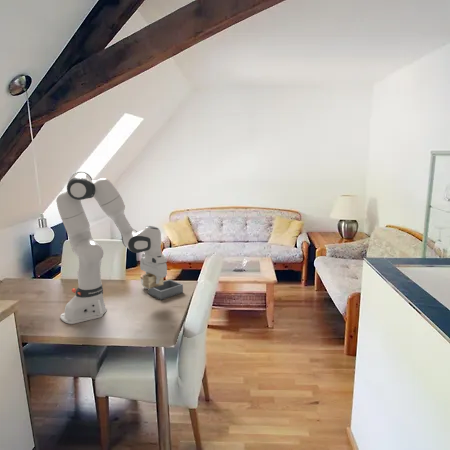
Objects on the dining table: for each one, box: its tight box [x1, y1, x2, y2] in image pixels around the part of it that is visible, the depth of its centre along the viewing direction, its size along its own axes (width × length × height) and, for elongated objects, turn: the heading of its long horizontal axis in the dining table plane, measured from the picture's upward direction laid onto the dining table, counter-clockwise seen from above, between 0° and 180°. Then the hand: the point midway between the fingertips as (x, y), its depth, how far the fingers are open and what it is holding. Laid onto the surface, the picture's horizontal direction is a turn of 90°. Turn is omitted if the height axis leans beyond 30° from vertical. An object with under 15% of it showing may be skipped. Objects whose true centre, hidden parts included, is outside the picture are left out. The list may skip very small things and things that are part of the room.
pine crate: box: [142, 273, 164, 289], centre depth 213 cm, size 9×6×6 cm, turn 134°
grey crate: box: [147, 279, 184, 301], centre depth 230 cm, size 15×12×5 cm
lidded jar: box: [139, 272, 148, 290], centre depth 240 cm, size 11×11×9 cm
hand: (153, 281), depth 213 cm, fingers closed on pine crate, 6 cm apart
